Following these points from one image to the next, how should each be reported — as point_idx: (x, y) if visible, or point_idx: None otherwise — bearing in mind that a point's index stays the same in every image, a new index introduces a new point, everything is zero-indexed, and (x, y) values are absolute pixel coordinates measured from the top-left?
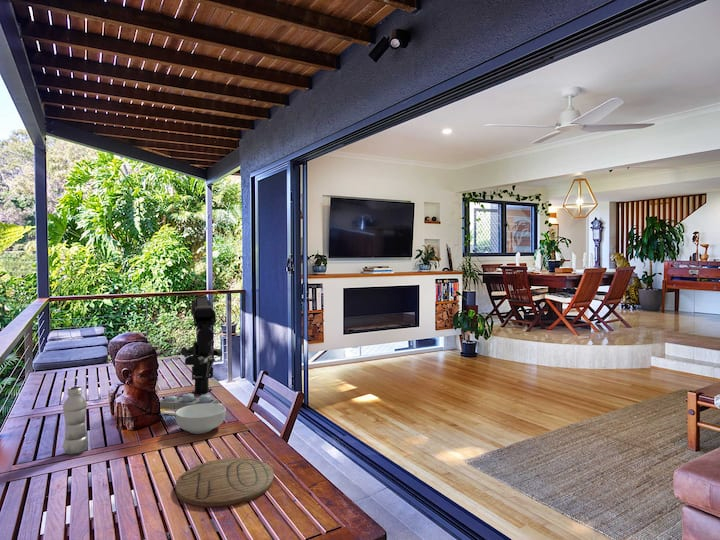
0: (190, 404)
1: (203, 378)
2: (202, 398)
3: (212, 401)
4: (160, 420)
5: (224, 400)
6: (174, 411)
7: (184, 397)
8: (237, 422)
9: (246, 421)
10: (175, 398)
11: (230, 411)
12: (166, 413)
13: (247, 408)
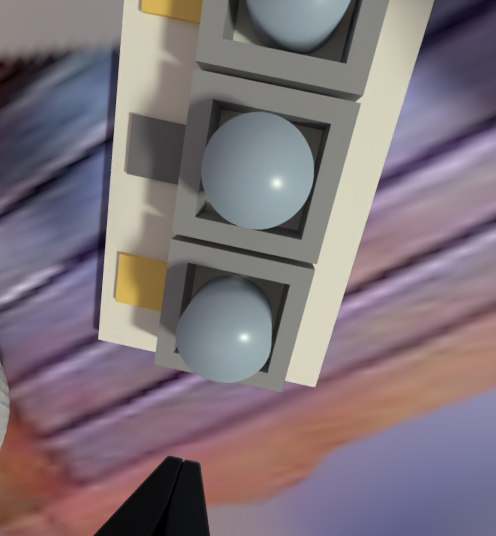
0: (175, 223)
1: (169, 460)
2: (178, 328)
3: None
4: (12, 64)
5: (433, 363)
6: (150, 106)
7: (203, 157)
8: (53, 485)
9: (71, 515)
10: (280, 31)
11: (207, 433)
12: (123, 51)
13: (257, 500)
